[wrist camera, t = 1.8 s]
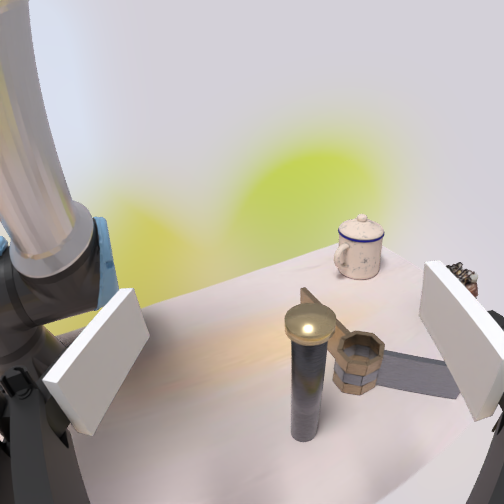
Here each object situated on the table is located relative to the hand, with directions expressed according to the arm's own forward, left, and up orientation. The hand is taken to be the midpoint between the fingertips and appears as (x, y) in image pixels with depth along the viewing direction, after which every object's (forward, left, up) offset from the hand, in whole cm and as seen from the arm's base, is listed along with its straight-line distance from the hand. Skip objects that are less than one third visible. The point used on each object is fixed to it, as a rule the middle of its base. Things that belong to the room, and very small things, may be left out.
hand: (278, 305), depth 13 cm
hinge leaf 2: (-6, +19, -26) cm, 33 cm away
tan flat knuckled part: (-16, +16, -26) cm, 34 cm away
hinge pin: (-6, +6, -26) cm, 27 cm away
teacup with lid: (-32, +32, -26) cm, 52 cm away
